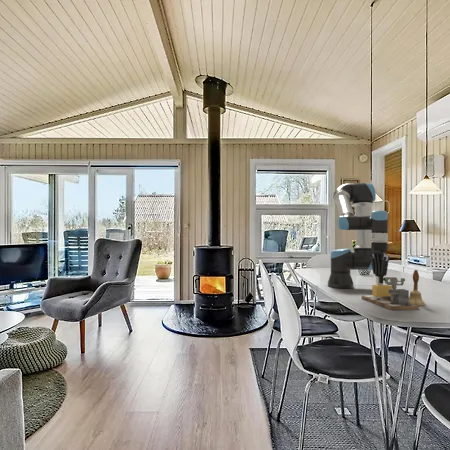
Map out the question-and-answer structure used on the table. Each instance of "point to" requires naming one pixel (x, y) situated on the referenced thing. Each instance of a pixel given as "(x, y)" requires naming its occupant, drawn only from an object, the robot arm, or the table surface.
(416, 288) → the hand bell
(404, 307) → the board
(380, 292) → the block
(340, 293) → the table surface
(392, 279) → the mechanical component
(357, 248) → the robot arm
